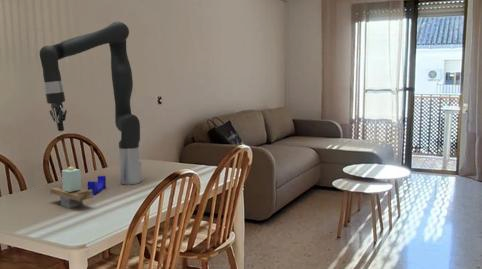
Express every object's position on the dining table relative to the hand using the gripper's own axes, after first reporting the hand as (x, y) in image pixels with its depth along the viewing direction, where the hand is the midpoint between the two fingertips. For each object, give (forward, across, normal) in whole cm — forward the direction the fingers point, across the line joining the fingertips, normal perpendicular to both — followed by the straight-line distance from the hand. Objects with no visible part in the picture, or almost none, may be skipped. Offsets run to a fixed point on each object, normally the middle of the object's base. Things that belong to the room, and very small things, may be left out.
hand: (61, 130), depth 205 cm
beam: (+28, -23, +10) cm, 38 cm away
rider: (+22, -25, +10) cm, 34 cm away
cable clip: (+29, -11, -7) cm, 31 cm away
